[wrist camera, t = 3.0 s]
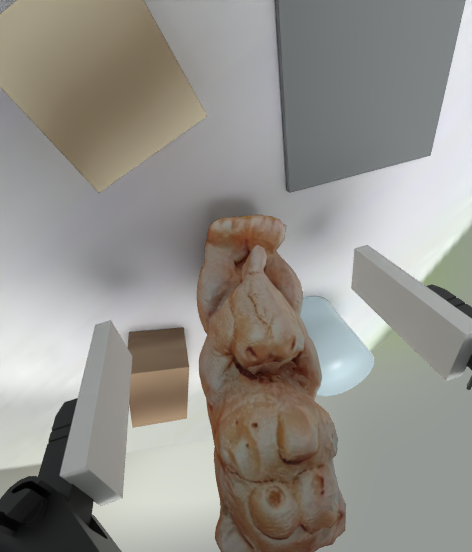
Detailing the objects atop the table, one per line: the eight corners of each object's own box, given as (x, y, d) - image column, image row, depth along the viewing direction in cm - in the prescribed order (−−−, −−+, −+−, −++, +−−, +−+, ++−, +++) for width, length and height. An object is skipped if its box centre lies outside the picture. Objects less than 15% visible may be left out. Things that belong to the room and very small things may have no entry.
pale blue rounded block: (276, 306, 23) (310, 363, 19) (332, 289, 24) (378, 340, 19) (281, 345, 26) (310, 403, 21) (330, 329, 27) (370, 382, 22)
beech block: (25, 59, 12) (-38, 45, 8) (120, -16, 11) (104, -72, 7) (112, 164, 15) (99, 193, 11) (191, 108, 14) (207, 116, 10)
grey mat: (273, -36, 12) (276, -39, 12) (474, -70, 13) (482, -74, 13) (287, 190, 18) (289, 192, 18) (425, 154, 19) (430, 155, 19)
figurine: (268, 193, 18) (520, 419, 6) (260, 290, 22) (395, 539, 10) (168, 199, 16) (219, 511, 4) (180, 301, 21) (223, 605, 9)
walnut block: (129, 330, 21) (125, 374, 18) (183, 326, 22) (188, 366, 19) (135, 382, 24) (132, 427, 21) (182, 376, 25) (186, 418, 22)
